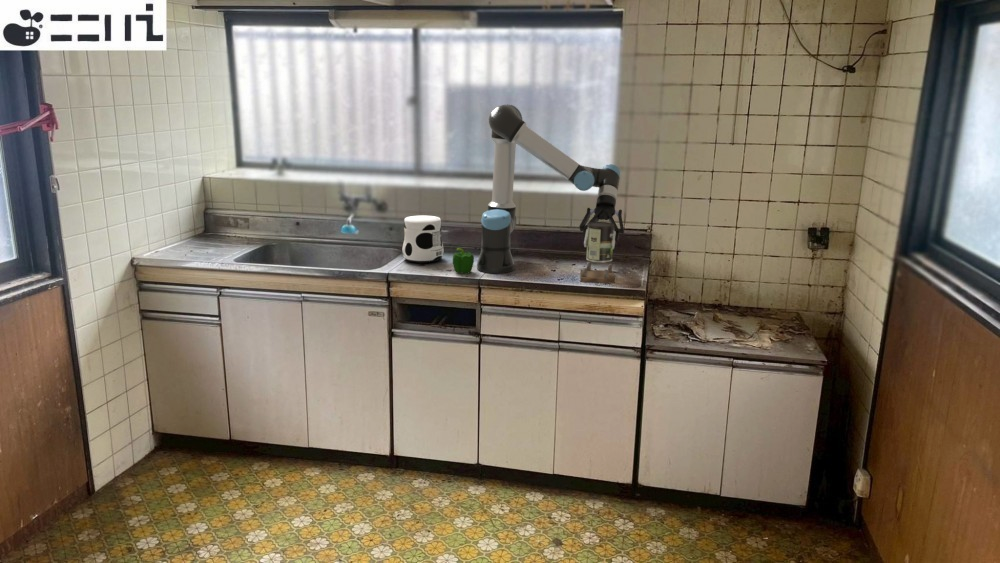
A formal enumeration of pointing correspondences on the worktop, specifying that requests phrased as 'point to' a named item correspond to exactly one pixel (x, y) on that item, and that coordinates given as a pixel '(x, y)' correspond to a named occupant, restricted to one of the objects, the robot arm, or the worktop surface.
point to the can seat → (597, 275)
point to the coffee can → (600, 242)
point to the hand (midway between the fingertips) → (598, 246)
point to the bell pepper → (463, 261)
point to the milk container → (422, 239)
